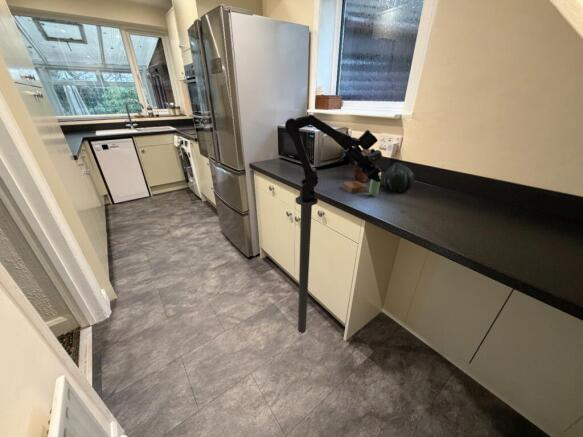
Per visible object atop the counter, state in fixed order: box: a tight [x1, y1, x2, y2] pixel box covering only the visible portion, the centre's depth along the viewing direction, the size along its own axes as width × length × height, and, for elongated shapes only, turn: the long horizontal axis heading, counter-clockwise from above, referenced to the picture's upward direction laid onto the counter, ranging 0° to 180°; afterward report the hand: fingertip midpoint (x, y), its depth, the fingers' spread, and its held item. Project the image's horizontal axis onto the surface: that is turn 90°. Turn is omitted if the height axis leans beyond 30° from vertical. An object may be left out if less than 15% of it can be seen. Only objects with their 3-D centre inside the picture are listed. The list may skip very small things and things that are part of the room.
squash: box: [382, 162, 415, 193], centre depth 122 cm, size 14×15×15 cm
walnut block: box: [341, 180, 368, 195], centre depth 123 cm, size 9×9×3 cm
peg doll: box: [368, 171, 382, 195], centre depth 113 cm, size 4×4×12 cm
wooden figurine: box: [353, 148, 371, 183], centre depth 134 cm, size 12×6×18 cm, turn 128°
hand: (378, 180), depth 112 cm, fingers closed on peg doll, 4 cm apart
